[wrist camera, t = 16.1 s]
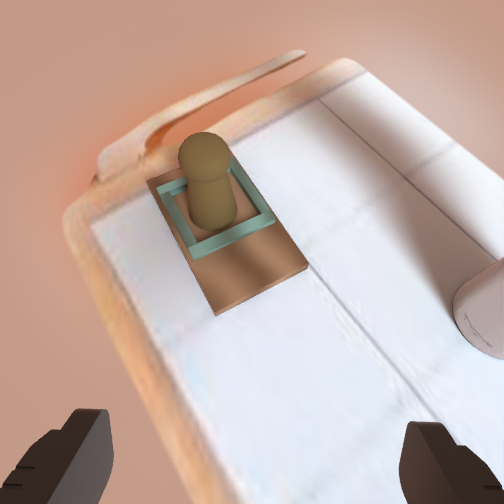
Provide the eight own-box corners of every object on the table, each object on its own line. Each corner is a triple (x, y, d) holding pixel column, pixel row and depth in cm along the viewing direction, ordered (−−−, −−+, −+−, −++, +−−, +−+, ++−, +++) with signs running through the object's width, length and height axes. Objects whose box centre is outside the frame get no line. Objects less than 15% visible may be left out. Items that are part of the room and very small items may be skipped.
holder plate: (229, 155, 49) (228, 141, 47) (307, 268, 41) (310, 258, 39) (149, 188, 46) (143, 175, 44) (215, 316, 38) (213, 308, 36)
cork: (195, 187, 44) (180, 118, 35) (241, 194, 44) (239, 126, 34) (182, 226, 42) (162, 164, 32) (231, 235, 41) (226, 173, 32)
